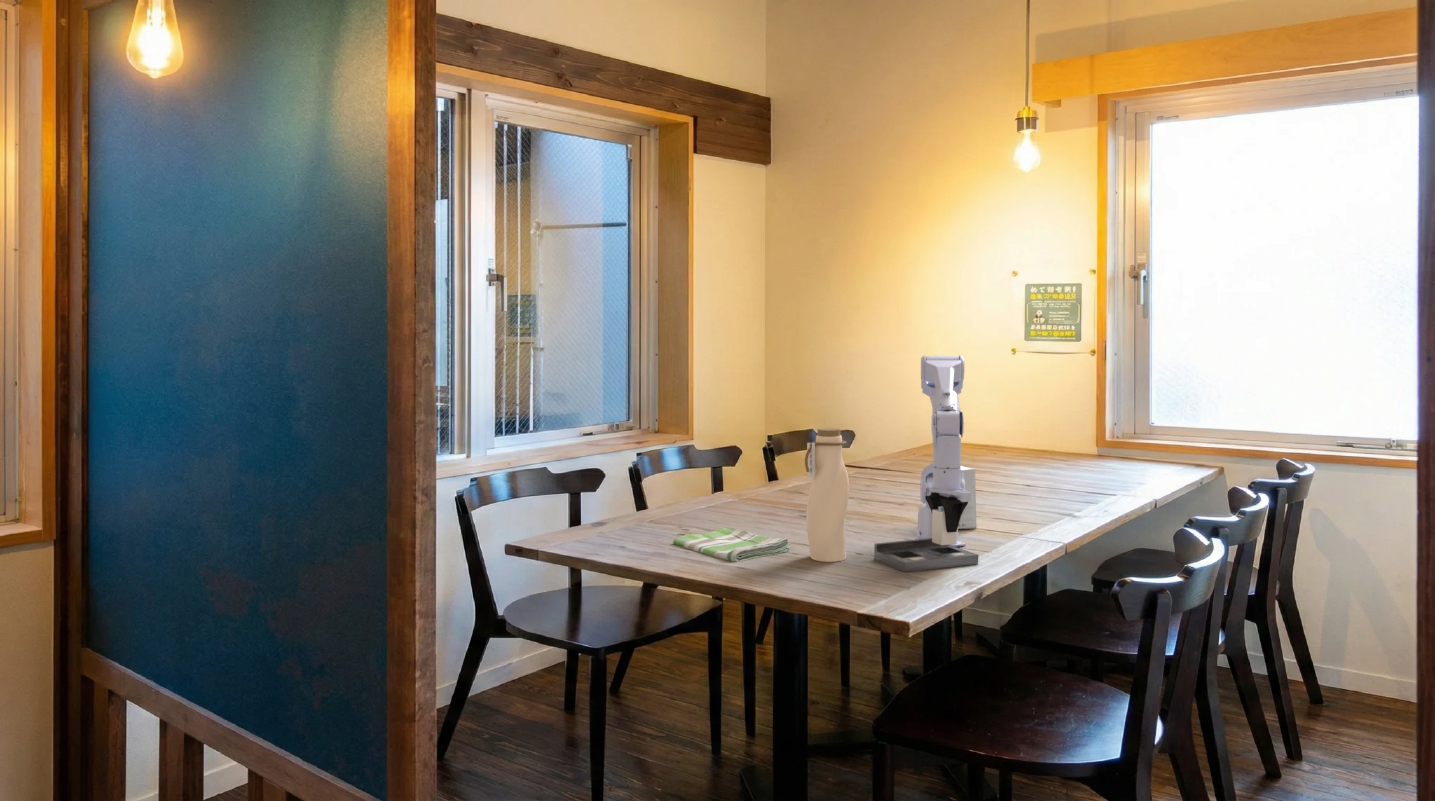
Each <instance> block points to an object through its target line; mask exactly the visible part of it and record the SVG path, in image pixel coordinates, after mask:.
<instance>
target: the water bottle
mask: <svg viewBox="0 0 1435 801" xmlns="http://www.w3.org/2000/svg"><path fill="white" fill-rule="evenodd" d="M816 433H817V434H816V435H815V440H813V441H812V442H806V453H805V457H804V466H805V471H806V477H808V478H810V481H811V483H810V484H811V485H810V488H809V491H808V496H807V503H806V516H805V517H806V520H805V521H806V532H807V539H808V546H809V553H810V559H812V560H814V561H817V562H823V563H824V562H825V563H826V562H827V563H832V562H842V561H844V560H847V546H846V545H847V544H846V523H845V522H846V521H845V520H846V519H845V518H846V514H847V510H848V509H847V508H848V504H849V498H850V480H849V479H850V478H849V473H848V471H847V468H846V465H845V461H844V459H843V458H844V457H843V446H844V445H846V444H847V441H846V440H843V437H842V435H841V429H840V428H834V427H832V428H831V427H824V428H823V427H821V428H817V432H816Z"/></svg>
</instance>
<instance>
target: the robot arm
mask: <svg viewBox="0 0 1435 801" xmlns="http://www.w3.org/2000/svg"><path fill="white" fill-rule="evenodd" d="M964 379H965V358H964V356H963V355H962V354H961V355H926V354H923V355H922V356H921V358H920V380H921V381H920V382H921V383H920V386H921V389H922V394H924V395H926V396H927V397H929V400H930V403H931V407H932V410H931V411H932V412H931V414H932V415H931V424H930V425H931V436H932V462H931V463H930V464H929V465H927V466H926V467H924V468H923V469H922V471H921V473H920V487H919V488H920V491H919V492H920V502H921V503H922V504H923V505H921V506H920V508H918V512H917V537H914V539H913V540H916V539H926V538H932V510H935V509H938V507H943V509H944V513H945V521H946V530H947V532H949V533H950V532H956V544H950V545H951V546H954V547H964V546H966V545H967V543H965V542H963V541H959V529H958V525H959V521H960V518H961V515H962V513H963V511H964V509H965V507H966V506H967V504H968V502H970V501H971V492H968V491H966V490H965V480H964V473H963V471H962V470H961V466H962V465H961V464H962V463H961V462H962V460H961V459H962V439H963V436H964V430H965V429H964V428H965V422H964V421H965V420H964V418H965V417H964V413H963V410H962V408H961V406H960V398H959V395H960V394H962V389H963V386H964Z"/></svg>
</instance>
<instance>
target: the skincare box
mask: <svg viewBox="0 0 1435 801" xmlns="http://www.w3.org/2000/svg"><path fill="white" fill-rule="evenodd" d="M961 470H962V471H963V473H964V480H965V490H966V491H968V492H971V501H970V502H968V504H967V506H966V507H965V509H964V511H963V513H962V515H961V518H960V521H959V525H958V530H960V529H973V530H974V529H977V497H976V496H977V495H976V469H975V468H972V467H966V466H963V465H961Z"/></svg>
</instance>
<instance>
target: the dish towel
mask: <svg viewBox="0 0 1435 801" xmlns="http://www.w3.org/2000/svg"><path fill="white" fill-rule="evenodd" d="M672 543H673V545H676V546H679V547H681V548H685V549H687V550H691V551H694V552H697V553H701V554H703V555H707V556H710V557H713V558H718V559H721V560H725V561H730V562H736V563H737V562H738V563H739V562H744V561H747V560H753V559H758V558H762V557H768V556H773V555H780V554H782V553H788V552H790V551H789V550H790V549H792V547H791V546H790V545H791V543H790V542H789V540H788V538H785V537H782V538H781V537H780V538H777V537H769V536H765V535H760V534H757V535H756V534H754V533H751V532H748V531H746V530H742V529H739V528H738V529H737V528H734V527H726V526H725V527H722V528H719V529H717V530H713V531H709V532H706V533H702V534H697V533H692V534H691V533H690V534H685V535H681V536H677V538H675V539H674V540H673V541H672Z"/></svg>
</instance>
